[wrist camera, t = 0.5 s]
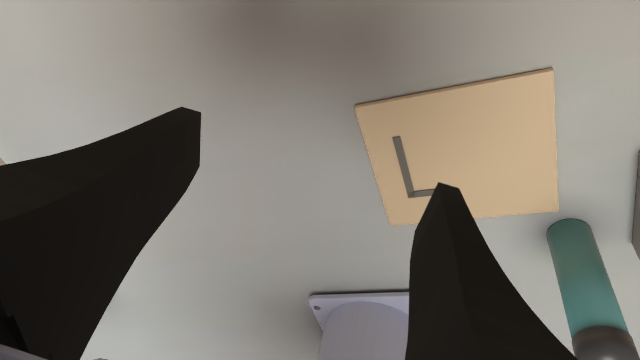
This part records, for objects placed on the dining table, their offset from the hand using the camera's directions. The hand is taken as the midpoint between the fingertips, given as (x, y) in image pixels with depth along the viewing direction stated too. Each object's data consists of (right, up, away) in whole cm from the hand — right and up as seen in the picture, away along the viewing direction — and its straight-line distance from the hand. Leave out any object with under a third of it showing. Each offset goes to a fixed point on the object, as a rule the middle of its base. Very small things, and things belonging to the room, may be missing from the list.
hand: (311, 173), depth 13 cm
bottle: (+14, -3, +11) cm, 18 cm away
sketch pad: (+7, +1, +10) cm, 12 cm away
